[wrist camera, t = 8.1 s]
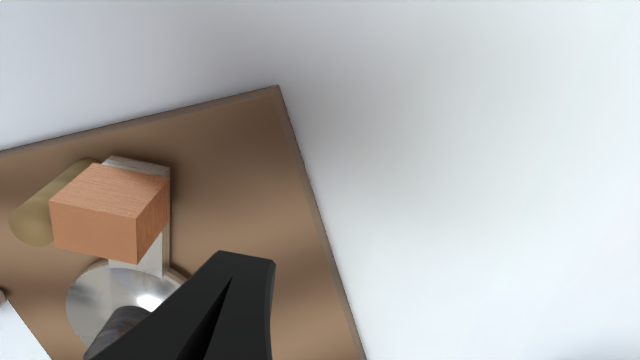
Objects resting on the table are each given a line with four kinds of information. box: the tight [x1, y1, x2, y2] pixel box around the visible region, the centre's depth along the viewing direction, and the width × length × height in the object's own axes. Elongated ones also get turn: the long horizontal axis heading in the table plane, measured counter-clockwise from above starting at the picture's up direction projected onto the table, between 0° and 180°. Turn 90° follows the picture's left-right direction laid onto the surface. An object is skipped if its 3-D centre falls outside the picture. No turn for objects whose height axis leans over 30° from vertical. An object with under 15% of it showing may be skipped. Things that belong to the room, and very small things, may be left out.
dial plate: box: [48, 155, 188, 360], centre depth 20 cm, size 12×7×4 cm, turn 171°
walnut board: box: [0, 85, 366, 360], centre depth 22 cm, size 16×17×5 cm
